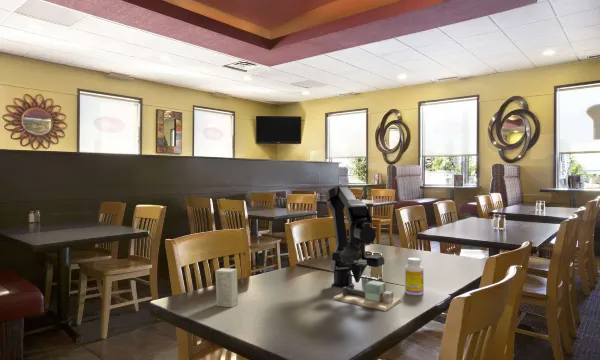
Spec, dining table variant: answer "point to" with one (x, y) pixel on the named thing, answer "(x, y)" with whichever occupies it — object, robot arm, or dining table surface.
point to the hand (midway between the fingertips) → (357, 282)
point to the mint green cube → (374, 290)
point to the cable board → (359, 299)
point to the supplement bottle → (414, 277)
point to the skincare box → (226, 287)
